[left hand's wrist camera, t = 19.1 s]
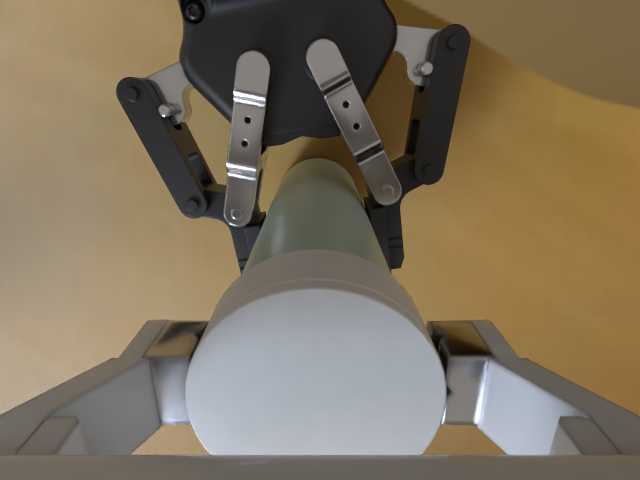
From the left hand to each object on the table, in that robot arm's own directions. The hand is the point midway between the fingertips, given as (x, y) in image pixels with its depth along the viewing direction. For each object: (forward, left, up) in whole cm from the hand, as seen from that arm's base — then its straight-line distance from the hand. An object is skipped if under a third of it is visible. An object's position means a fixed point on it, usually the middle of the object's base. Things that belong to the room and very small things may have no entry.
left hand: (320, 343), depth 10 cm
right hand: (-1, -2, -9) cm, 9 cm away
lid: (0, 0, +2) cm, 2 cm away
